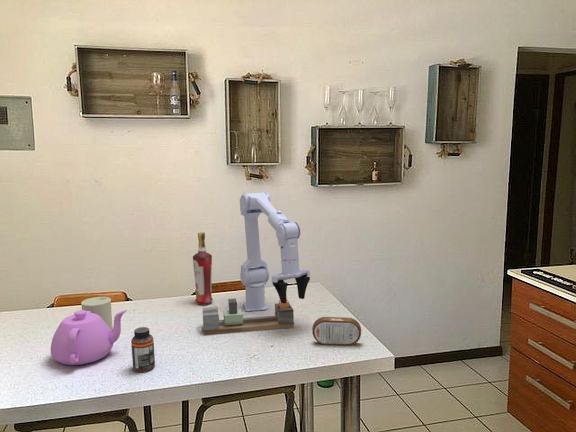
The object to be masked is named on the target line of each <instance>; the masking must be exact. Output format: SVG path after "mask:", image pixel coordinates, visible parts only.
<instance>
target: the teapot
mask: <svg viewBox="0 0 576 432" xmlns="http://www.w3.org/2000/svg"><path fill="white" fill-rule="evenodd" d="M127 311H128V310H127V309H125V310H121V311H119V312H117V313H116V314H115V315H114V318H113V329H112V330H111V331H110V329H109V327H108V326H107V324H106V323H105V322H104V320H103V319H102V318H101V317H100V316H99V315H97V314H94V313H92V312H91V311H85V310H82V309H81V310H76V311H74V312H73V314H72V315H69V316H67V317H65V318H63V319H62V321H61V322H60V323H59V325H58V327H57V329H56V330H55V332H54V334H53V336H52V338H51V344H50V354H51V357H52V358H54V360H55V361H57V362H58V363H60V364H62V365H65V366H66V365H67V366H79V365H85V364H90V363H95V362H96V361H98V360H101V359H103V358H105V357H106V356H107V355H108V354H109V352H110V351H111V350H112V348H113V347H114V344H115V343H116V342H117V341H118V339H119V338H120V335H121V331H122V327H121V326H122V325H121V324H122V323H121V321H122V317H123V315H124V314H125V313H126V312H127Z"/></svg>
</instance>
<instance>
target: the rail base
mask: <svg viewBox="0 0 576 432" xmlns="http://www.w3.org/2000/svg"><path fill="white" fill-rule="evenodd" d="M294 315H295V314H294V308H293V307H292V305H291V303H289V308H286V309H279V302H276V303H274V315H266V316H264V315H263V316H255V317H254V316H252V317H243V324H236V325H225V321H224V319H219V317H220V316H219V310H218V306H206V307H202V326H203V327H202V328H203V329H202V330H203V336H210V335H211V336H212V335H222V334H233V333H246V332H256V331H257V332H259V331H267V330H268V331H269V330H279V329H291V328H292V329H293V328H295V322H294V321H295V320H294Z"/></svg>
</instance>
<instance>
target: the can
mask: <svg viewBox="0 0 576 432" xmlns="http://www.w3.org/2000/svg"><path fill="white" fill-rule="evenodd" d="M80 304H81V310H85V311H91V312H92V313H94V314H97V315H99V316H100V317H101V318H102V319H103V320H104V322H105V323H106V324H107V326H108V327H109V329H110V331H111V330H112V329H113V327H114V325H113V318H112V317H113V315H112V314H113V313H112V298H111V297H108V296H95V297H89V298H86V299H84V300H82V301H81V303H80Z"/></svg>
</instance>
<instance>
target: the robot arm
mask: <svg viewBox="0 0 576 432" xmlns="http://www.w3.org/2000/svg"><path fill="white" fill-rule="evenodd" d="M239 210H240V215H241V216H243V218H244V228H245V229H244V230H245V231H244V232H245V242H246V243H245V244H246V256H247V257H246V258H247V259H246V260H245V261H244V262H243V263H242V264H241V265H240V273H239V275H240V276H239V278H240V282H241V284H242V285H244V286H245V301H243V306H244V309H245V312H253V311H254V312H255V311H266V310H268V307H267V304H266V296H265V293H266V292H265V290H266V289H265V287H266V285H267V283H268V281H269V280H270V277H271V282H272V285H273V287H274V289H275V290H276V293H277V295H278V298H279V300H280V301H281V303H286V302H287V300H288V298H287V288H288V285H289V284H288V282H285V281H287V280H288V281H289V280H292V279H295V283H296V287H297V296H298V299H301V300H305V296H306V293H307V292H306V291H307V288H308V285H309V283H310V280H311V277H310V274H311V270H310V269H306V268H305V269H300V260H299V259H300V257H299V245H298V239H299V238H300V236H301V227H300V225H299V223H298V222H297V221H292V220H290V219H289V218H288V217H287V216H286V215H285V214H284V212H283V211H282V210H279V209H277V210H276V208H275V206H274V205H273V204H272V202H271V195H269V193H268V192H267V191H262V192H247V193H246V192H243V193H242V194H241V196H240V198H239ZM261 214H264V215H265V216H266V217H267V222H268V223H269V224H270V226H271V227H272V228H273V229H274V231H275V235H276V238H277V242H278V243H277V244H278V247H280V248H279V249H280V263H281V272H280V273H278V274H275V275H271V276H270V272H269V268H268V264H267V262H266V261H265V260H263V259H262V257H261V246H260V245H261V243H260V232H259V230H260V229H259V220H258V219H259V217H260V215H261Z"/></svg>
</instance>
